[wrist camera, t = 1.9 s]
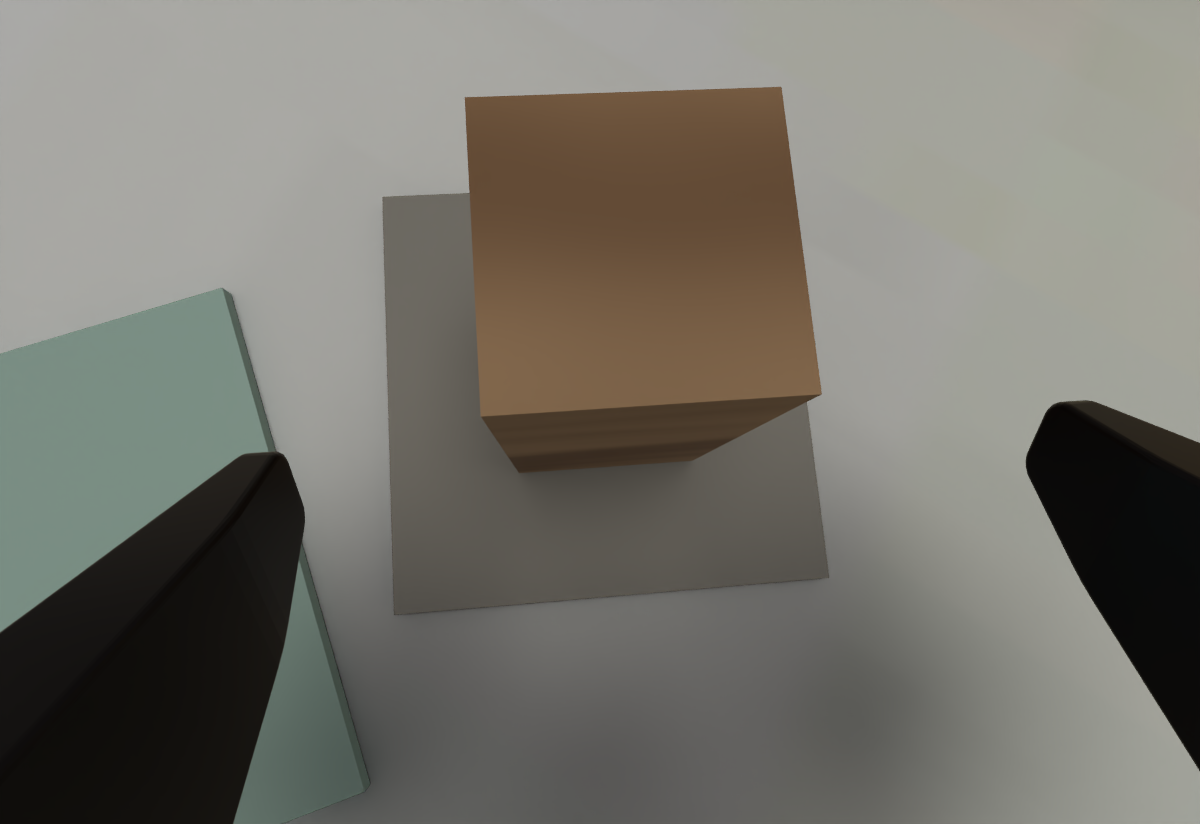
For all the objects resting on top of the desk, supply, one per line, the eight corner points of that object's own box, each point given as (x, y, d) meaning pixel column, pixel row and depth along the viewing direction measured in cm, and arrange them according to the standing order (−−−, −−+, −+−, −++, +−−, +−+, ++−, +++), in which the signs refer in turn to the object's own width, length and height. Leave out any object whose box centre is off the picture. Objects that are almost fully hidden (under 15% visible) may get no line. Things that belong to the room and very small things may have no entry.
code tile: (823, 576, 18) (830, 577, 18) (397, 612, 17) (393, 614, 17) (774, 187, 20) (779, 178, 20) (385, 203, 19) (381, 196, 19)
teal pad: (369, 784, 17) (364, 791, 16) (-208, 1007, 15) (-232, 1022, 15) (230, 294, 19) (222, 287, 18) (-297, 452, 17) (-323, 449, 17)
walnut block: (692, 460, 18) (821, 393, 9) (519, 472, 18) (480, 416, 9) (676, 295, 19) (781, 87, 10) (509, 304, 19) (465, 97, 10)
